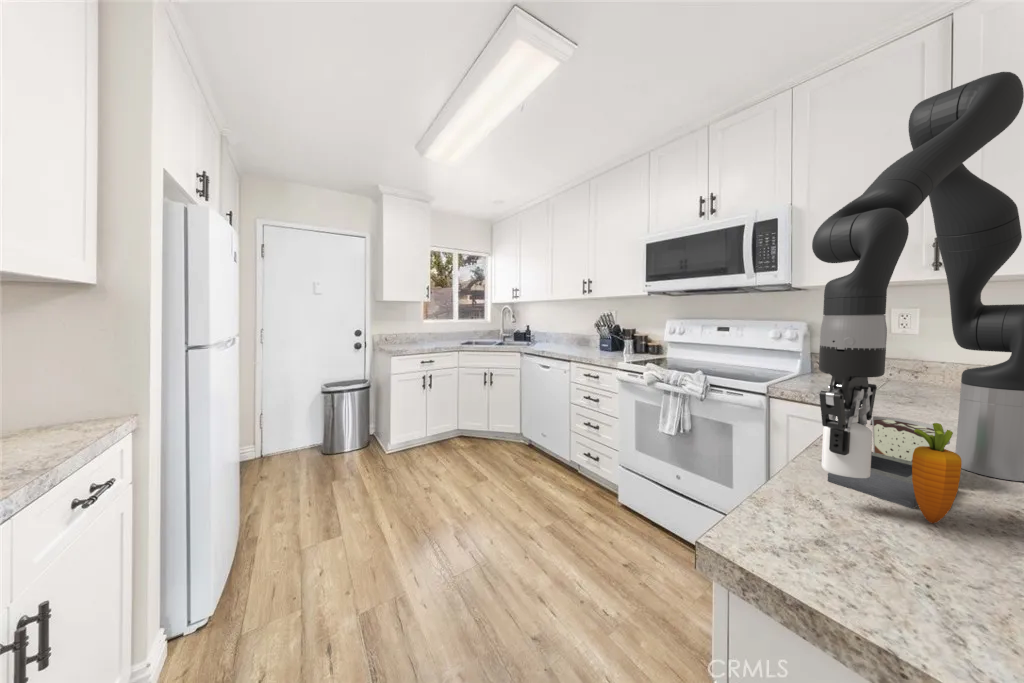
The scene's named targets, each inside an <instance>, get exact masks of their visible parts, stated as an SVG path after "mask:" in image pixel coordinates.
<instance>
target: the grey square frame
mask: <svg viewBox="0 0 1024 683" xmlns="http://www.w3.org/2000/svg"><path fill="white" fill-rule="evenodd" d="M827 482H829V483H832V484H836V485H838V486H841V487H845V488H848V489H851V490H854V491H857V492H860V493H863V494H866V495H869V496H872V497H876V498H878V499H882V500H885V501H887V502H892V503H895V504H898V505H900V506H903V507H906V508H910V509H912V510H913V509H915V508H916V507H919V506H918V503H917V501H916V497H915V493H914V488H913V482H912V461H908V460H903V459H899V458H895V457H891V456H887V455H883V454H879V453H875V452H873V451H872V452H871V471H870V477H869V478H852V477H845V476H840V475H836V474H832V473H828V472H827Z"/></svg>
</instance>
